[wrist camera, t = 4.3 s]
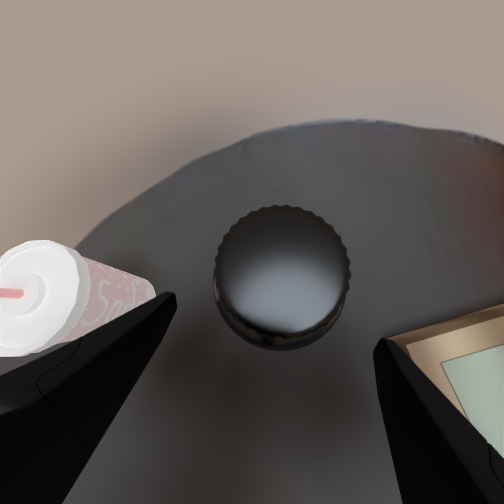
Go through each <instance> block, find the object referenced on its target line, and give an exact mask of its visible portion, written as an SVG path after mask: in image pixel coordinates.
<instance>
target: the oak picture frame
mask: <svg viewBox="0 0 504 504" xmlns="http://www.w3.org/2000/svg"><path fill="white" fill-rule="evenodd" d="M386 339H391V340H393V341H395V342H396V343H397V345H398V346H399V347H400V348H401V349H402V350H403V351H404V352H405V353H406V354H407V355H408V356H409V357H410V358H411V360H412V361H413V362H414V363H415V364H416V365H417V366H418V367H419V368H420V369H421V370H422V371H423V372H424V373H425V375H426V376H427V377H428V378H429V379H430V380H431V381H432V382H433V383H434V384H435V385H436V386H437V387H438V388H439V389H440V391H441V392H442V393H443V394H444V395H445V396H446V397H447V398H448V399H449V400H450V401H451V402H452V403H453V404H454V406H455V407H456V408H457V409H458V410H459V411H460V412H461V413H462V414H463V415H464V416H465V417H466V418H467V419H468V421H469V422H470V423H471V424H472V425H473V426H474V427H475V428H476V429H477V430H478V431H479V432H480V433H481V434H482V435H483V437H484V438H485V439H486V440H487V441H488V443H490V444H491V445H492V446H493V447H494V448H495V449H496V450H497V451H498V452H499V454H500V455H501V456H502V457H503V458H504V303H503V304H500V305H497V306H493V307H490V308H487V309H483V310H480V311H476V312H473V313H470V314H466V315H463V316H460V317H456V318H453V319H450V320H446V321H443V322H440V323H436V324H433V325H430V326H426V327H423V328H420V329H416V330H413V331H410V332H406V333H403V334H400V335H396V336H393V337H390V338H386Z"/></svg>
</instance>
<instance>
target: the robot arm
mask: <svg viewBox="0 0 504 504" xmlns="http://www.w3.org/2000/svg"><path fill="white" fill-rule="evenodd" d="M176 310H177V302H176V295H175V293H172V292H164V293H162V294H160V295H158V296H156V297H155V298H153V299H151V300H149V301H147V302H145V303H143V304H141V305H139V306H138V307H136V308H134V309H132V310H130V311H128V312H126V313H124V314H123V315H121V316H119V317H117V318H115V319H113V320H111V321H109V322H107V323H106V324H104V325H102V326H100V327H98V328H96V329H94V330H92V331H91V332H89V333H87V334H85V335H84V336H81V337H79V338H77V339H75V340H73V341H72V342H70V343H68V344H66V345H64V346H62V347H60V348H58V349H56V350H54V351H52V352H50V353H48V354H45V355H43V356H41V357H39V358H37V359H35V360H33V361H31V362H28V363H26V364H24V365H22V366H20V367H17V368H15V369H13V370H11V371H9V372H7V373H4V374H2V375H0V504H62V503H63V501H64V500H65V498H66V496H67V495H68V493H69V491H70V490H71V488H72V487H73V485H74V483H75V482H76V480H77V478H78V477H79V475H80V474H81V472H82V470H83V469H84V467H85V465H86V464H87V462H88V460H89V459H90V457H91V456H92V453H93V452H94V450H95V449H96V447H97V446H98V444H99V442H100V441H101V439H102V437H103V436H104V434H105V432H106V431H107V429H108V428H109V426H110V424H111V423H112V421H113V419H114V418H115V416H116V415H117V413H118V411H119V410H120V408H121V406H122V405H123V403H124V401H125V400H126V398H127V397H128V395H129V393H130V392H131V390H132V388H133V387H134V385H135V384H136V382H137V380H138V379H139V377H140V375H141V374H142V372H143V370H144V369H145V367H146V366H147V364H148V362H149V361H150V359H151V357H152V356H153V354H154V353H155V351H156V349H157V348H158V346H159V344H160V343H161V341H162V339H163V337H164V335H165V333H166V331H167V329H168V327H169V325H170V322H171V320H172V318H173V316H174V314H175V312H176ZM373 359H374V368H375V376H376V384H377V392H378V398H379V402H380V407H381V411H382V416H383V420H384V424H385V429H386V433H387V437H388V442H389V446H390V451H391V455H392V459H393V464H394V468H395V472H396V477H397V481H398V485H399V490H400V494H401V499H402V503H403V504H504V458H503V457H502V456H501V455H500V454H499V452H498V451H497V450H496V449H495V448H494V447H493V446H492V445H491V444H490V443H488V441H487V440H486V439H485V438H484V437H483V435H482V434H481V433H480V432H479V431H478V430H477V429H476V428H475V427H474V426H473V425H472V424H471V423H470V422H469V421H468V419H467V418H466V417H465V416H464V415H463V414H462V413H461V412H460V411H459V410H458V409H457V408H456V407H455V406H454V404H453V403H452V402H451V401H450V400H449V399H448V398H447V397H446V396H445V395H444V394H443V393H442V392H441V391H440V389H439V388H438V387H437V386H436V385H435V384H434V383H433V382H432V381H431V380H430V379H429V378H428V377H427V376H426V375H425V373H424V372H423V371H422V370H421V369H420V368H419V367H418V366H417V365H416V364H415V363H414V362H413V361H412V360H411V358H410V357H409V356H408V355H407V354H406V353H405V352H404V351H403V350H402V349H401V348H400V347H399V346H398V345H397V343H396V342H395V341H393V340H391V339H386V338H381V339H380V340H379V342H378V344H377V345H376V347H375V349H374V351H373Z"/></svg>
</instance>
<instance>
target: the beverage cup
mask: <svg viewBox="0 0 504 504" xmlns="http://www.w3.org/2000/svg"><path fill="white" fill-rule="evenodd" d="M155 297H156V294H155V291H154V288H153V286H152V285H151V284H150V283H149V282H148V280H145V279H143V278H140V277H138V276H135V275H132V274H129V273H127V272H124V271H121V270H118V269H116V268H113V267H110V266H107V265H104V264H102V263H99V262H96V261H93V260H90V259H88V258H85V257H82V256H80V255H79V253H78V252H77V251H76V250H73V249H71V248H68V247H66V246H63V245H61V244H58V243H55V242H53V241H50V240H39V241H28V242H25V243H23V244H21V245H19V246H17V247H14V248H12V249H10V250H8V251H7V252H6V253H5V254H4V255H3V256H1V257H0V357H7V356H25V355H28V354H30V353H38V352H40V351H42V350H44V349H46V348H48V347H51V346H53V345H55V344H57V343H62V342H66V341H71V340H75V339H77V338H79V337H81V336H84V335H85V334H87V333H89V332H91V331H92V330H94V329H96V328H98V327H100V326H102V325H104V324H106V323H107V322H109V321H111V320H113V319H115V318H117V317H119V316H121V315H123V314H124V313H126V312H128V311H130V310H132V309H134V308H136V307H138V306H139V305H141V304H143V303H145V302H147V301H149V300H151V299H153V298H155Z"/></svg>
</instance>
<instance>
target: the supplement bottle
mask: <svg viewBox="0 0 504 504" xmlns="http://www.w3.org/2000/svg"><path fill="white" fill-rule="evenodd" d="M215 263H216V266H215V270H214V277H213V289H214V296H215V300H216V304H217V306H218V309H219V311H220V313H221V315H222V317H223V319H224V320H225V322H226V323H227V324H228V326H229V327H230V328H231V329H232V330H233V331H234V332H235V333H236V334H237V335H238V336H239V337H241V338H242V339H244V340H245V341H247V342H249V343H250V344H253V345H255V346H257V347H260V348H263V349H267V350H274V351H289V350H295V349H299V348H302V347H305V346H308V345H310V344H312V343H314V342H315V341H317V340H319V339H320V338H321V337H323V336H324V335H325V334H326V333H327V332H328V331H329V330H330V329H331V328H332V327H333V325H334V324H335V322H336V321H337V319H338V317H339V316H340V314H341V311H342V309H343V306H344V303H345V298H346V293H347V292H348V290H349V282H348V281H349V279H350V277H351V272H350V270H349V265H350V260H349V258H348V257H347V248H346V247H345V246H344V245H343V244H342V240H341V237H340V236H339V235H338V234H337V233H335V231H334V228H333V226H331V225H329V224H327V223H326V222H325V220H324V219H323V218H322V217H319V216H316V215H315V214H314V213H313V212H311V211H305V210H303V209H302V208H300V207H291V206H289V205H284V206H278V205H273V206H271V207H262V208H260V209H259V210H258V211H252V212H250V213H249V214H248V215H247V216H245V217H242V218H240V219H239V221H238V222H237V223H236V224H234V225H232V226H231V228H230V230H229V232H228V233H227V234H225V235H224V237H223V242H222V243H221V244H220V246H219V247H218V255H217V256H216V258H215Z"/></svg>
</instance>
